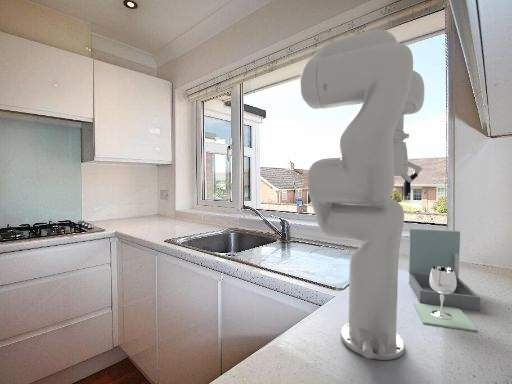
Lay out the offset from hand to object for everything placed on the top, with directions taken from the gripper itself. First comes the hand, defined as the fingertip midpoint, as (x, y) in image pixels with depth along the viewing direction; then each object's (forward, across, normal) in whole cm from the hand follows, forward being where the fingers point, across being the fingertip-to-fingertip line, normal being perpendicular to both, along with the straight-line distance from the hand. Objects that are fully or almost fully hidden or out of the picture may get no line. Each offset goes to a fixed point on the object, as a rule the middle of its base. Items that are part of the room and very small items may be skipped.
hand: (387, 195), depth 82 cm
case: (+30, -16, -4) cm, 34 cm away
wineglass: (+30, -12, +11) cm, 34 cm away
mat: (+30, -12, +10) cm, 34 cm away
